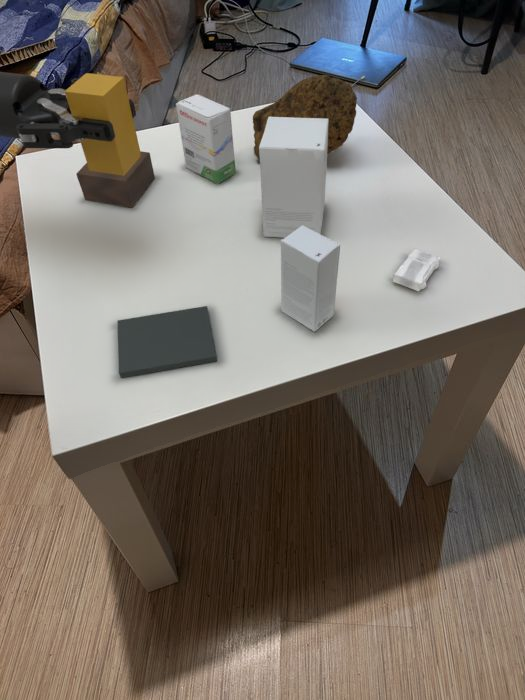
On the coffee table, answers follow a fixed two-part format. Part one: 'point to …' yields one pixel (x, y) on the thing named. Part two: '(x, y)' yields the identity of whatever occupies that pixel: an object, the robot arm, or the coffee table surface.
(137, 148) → the mustard block
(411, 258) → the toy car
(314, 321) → the cosmetic box
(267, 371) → the coffee table surface
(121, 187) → the walnut block
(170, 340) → the rubber mat
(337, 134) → the rock
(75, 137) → the robot arm
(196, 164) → the ink box
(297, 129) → the rectangular carton
